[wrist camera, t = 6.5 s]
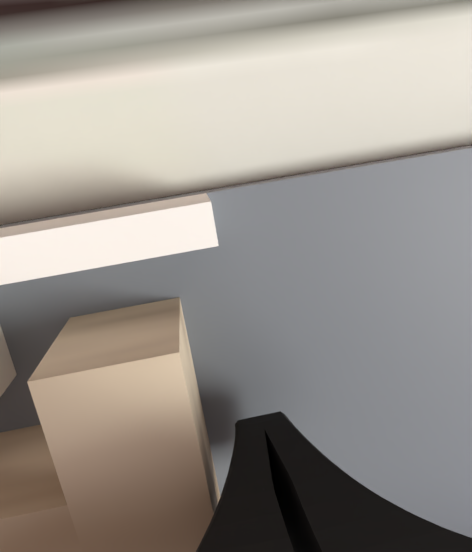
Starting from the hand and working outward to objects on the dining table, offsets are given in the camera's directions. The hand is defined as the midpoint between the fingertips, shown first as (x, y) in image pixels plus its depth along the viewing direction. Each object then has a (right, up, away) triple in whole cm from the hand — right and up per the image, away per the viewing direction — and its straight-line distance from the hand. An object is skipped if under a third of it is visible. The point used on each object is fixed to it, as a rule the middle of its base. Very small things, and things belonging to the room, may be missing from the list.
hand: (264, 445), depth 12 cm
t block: (-6, -1, +1) cm, 6 cm away
